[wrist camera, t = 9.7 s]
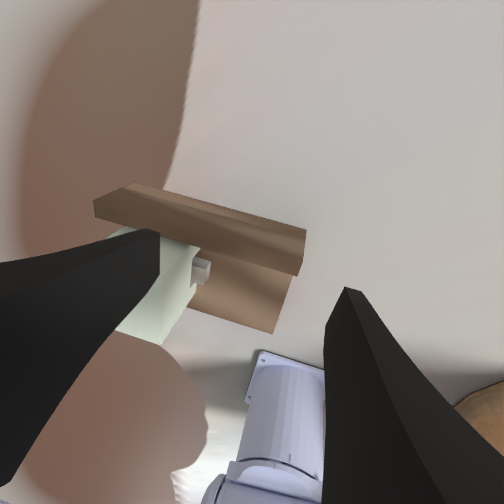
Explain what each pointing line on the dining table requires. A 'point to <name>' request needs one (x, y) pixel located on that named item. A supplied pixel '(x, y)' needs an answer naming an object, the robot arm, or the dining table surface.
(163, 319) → the sage block
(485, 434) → the pottery
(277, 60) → the dining table surface
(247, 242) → the cleat board
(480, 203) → the dining table surface
